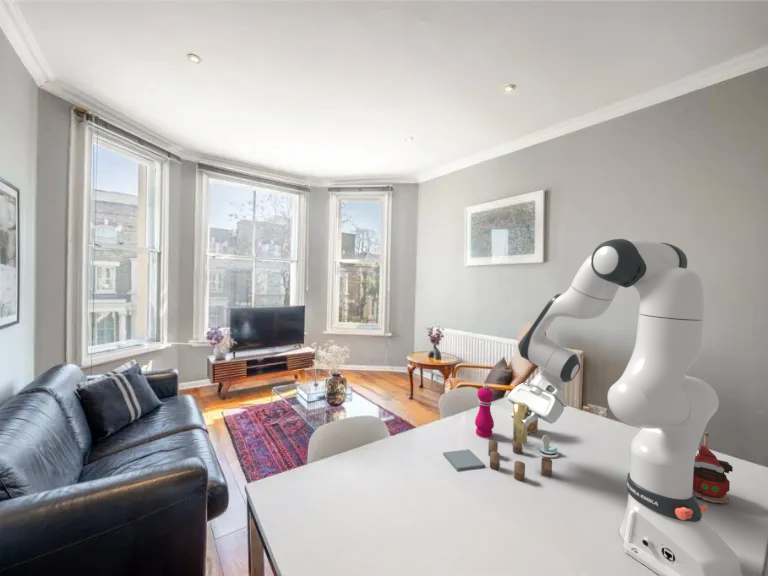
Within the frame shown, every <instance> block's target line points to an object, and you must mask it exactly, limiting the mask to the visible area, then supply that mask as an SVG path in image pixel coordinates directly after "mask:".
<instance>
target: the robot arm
mask: <svg viewBox="0 0 768 576" xmlns="http://www.w3.org/2000/svg"><path fill="white" fill-rule="evenodd" d="M620 287H623V288H630V287H634V288H635V289H636V291H638V293H639V308H638V319H637V327H636V328H637V329H636V336H635V337H636V339H635V344H634V348H633V351H632V354H631V357H630V359H629V361H628V363H627V365H626V367H625V369H624V371H623V373H622V375H621V376H620V377H619V379H618V380H617V381H616V382H614V383H613V384H612V385H611V386H610V388H609V389H608V391H607V396H606V397H607V404H608V407H609V409H610V411H611V412H612V414H613V416H615V418H617V420H618V421H620V422H621V423H623V424H624V425H627V426H629V427H634V428H640V430H639V432H638V433H637V434H636V435H635V436H634V437H633V439H632V440H631V443H630V446H629V447H630V451H629V453H630V455H629V472H628V473H627V478H626V479H627V480H626V491H627V493H628V494H627V495H628V497H627V502H626V508H625V512H624V515H623V520H622V522H621V524H620V526H619V534H620V537H621V539H622V541H623V545H622V548H623V551H624V552H625V553H626V554H628V555H629V556H630V557H632V558H633V559H635V560H636V561H638V562H639V563H641V564H642V565H644V566H645V567H647V568H648V569H650V570H651V571H653V572H654V573H656V574H657V575H659V576H743V574H742V573H743V572H742V568H741V564H740V560H739V558H738V556H737V554H736V552H735V551H734V550H733V549H732V548H731V547H730V546H729V545H728V544H727V542H726V541H725V540H724V539H723V538H722V537H721V536H720V534H718V533H717V531H716V530H715V529H714V528H713V527H712V526H711V525H710V523H709V522H708V521H707V520H706V519H705V518H704V517H703V512H706V511H708V509H707V508H708V504H703V505H699V503H698V500H697V496H696V495H694V493H693V473H694V461H695V456H697V453H698V452H697V451H698V450H697V449H698V446H699V444H701V440H702V437H703V434H704V433H705V430H706V428H707V427H706V426H707V424H708V422H709V420H710V419H712V417H713V416H714V414H715V413H716V412H717V411H718V409H719V405H720V400H719V397H718V395H717V392H716V391H715V388H713V387H712V386H711V385H710V384H709V383H707V382H706V381H705V380H703V379H701V378H698V377H694V376H690V375H687V374H688V371H689V369H690V368H691V366H692V365H694V363H695V362H696V361H698V359H699V357H700V354H701V352H702V349H701V348H702V342H703V341H702V339H703V329H704V319H705V318H704V317H705V298H704V297H705V296H704V290H703V289H704V288H703V284H702V279H701V277H700V275H699V274H697V273H696V271H695V272H694V271H692V270H690V269H688V258H687V255H686V253H685V252H684V251H683V250H682V249H681V248H679V247H678V246H675V245H673V244H670V243H667V242H656V241H652V240H647V239H639V238H638V239H634V238H632V239H630V238H628V239H626V238H615V239H610V240H606V241H603V242H602V243H600V244H599V245H598V246H597V247H596V248H595V249H594V251H593V252H592V254H591V255H589V256H588V257H586V259H585V261H584V262H583V263H582V265H581V266H580V268H579V269H578V271H577V272H576V273H575V276H574V278H573V280H572V282H571V284H570V286H569V287H568V289H567V290H566V291H565V292H564V293H557V294H556V295H554V296H553V297H552V298H551V299H550V300H548V302H547V304H546V305H545V306H544V307H543V309H542V311H541V312H540V313H539V314H538V316H537V318H536V319H535V321H534V323H533V324H532V325H531V327H530V328H529V329H528V330H527V332H526V333H525V335H524V336H523V337H522V338H521V340H520V341H519V343H518V345H517V348H518V352H519V354H520V357H521V358H522V359H525V360H526V361H529V362H530V363H532V364H533V365H536V366H538V367H539V368H540V369H541V371H538V372H537V374H536V375H535V376H534V377H533V378H532V380H531V381H530V382H523V383H519V384H518V385H516V386H515V387H514V388H513V389H512V390H511V391H510V392H509V393H508V394H507V400H508V401H509V402H510V403H511V404H512V405H514V403H515V402H521V403H525V404H527V412H529V413H530V416H529V417H527V418H525V417H524V419H523V420H522V423H523V424H524V425H526V426H529V424H530V423H531V422H534V421H536V420H537V419H538V420H539V419H541V420H543V421H545V422H546V423H549V424H550V425H552V424H554V423H556V422H557V421H558V419H559V418H560V417H561V415H562V414H563V412H564V410H565V408H566V407H567V406H568V405H569V401H568V400H567V398H566V397H565V396H564V395H563V394H562V391H563V389H564V387H565V386H566V384H568V383H570V382H572V381H573V380H574V378H576V375H578V373H579V371H580V370H581V358H580V356H579V355H578V354H577V353H576V352H575V351H573V350H572V349H570V348H568V347H564V346H562V345H560V344H558V343H557V342H556V341H554V340H552V339H550V338H548V337H547V336H546V331H548V330H549V327H550V326H551V325H552V324H553V322H554V321H555V319H556V318H558V317H560V318H561V317H564V318H572V319H579V320H591V319H595V318H598V317H600V316H602V315H603V314H605V312H606V311H607V310H608V308H609V307H610V306H611V304H612V302H613V300H614V298H615V296H616V294H617V292H618V291H619V288H620ZM513 411H514V409H513V410H512V412H511V413H510V416H511V418H512V419H513Z"/></svg>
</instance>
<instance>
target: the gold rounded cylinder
mask: <svg viewBox="0 0 768 576" xmlns="http://www.w3.org/2000/svg"><path fill="white" fill-rule="evenodd" d="M513 410H514V411H513ZM513 410H512V412H513V418H512V419H513V423H512V425H513V427H512V429H513V433H512V435H513V436H512V441H513V440H514V441H515V442H516V443H520V444H522V445H524V444H527V443H528V433H527V426H526V425H524V424H523V423H522V420H523V419H524V417H525V418H527V404H525V403H521V402H515V403H514V404H513Z"/></svg>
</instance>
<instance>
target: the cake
mask: <svg viewBox="0 0 768 576" xmlns="http://www.w3.org/2000/svg"><path fill="white" fill-rule="evenodd" d="M703 439H704V441H703V443H704V444H703V443H699V446H698V449H697V451H698V453H696V456H695V461H694V473H693V493H694V495H695V497H696V498H700V499H702V500H704V501H707V502H711V503H715V504H717V503H720V504H723V503H724V504H725V503H728V501H730V498H729V496H728V495H727V494H728V493H729V492H730V487H731V486H730V483H731V481H730V480H729V479H728V478H727V475H726V474H730V472H732V473H733V466H732V465H731V464H730V463H729V462H728V461H725V460H721V459H719V458H717V456H716V455H715V454H714V453H713V452H712V451H711V450H710V449H709V432H706V431H704V438H703Z"/></svg>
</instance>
